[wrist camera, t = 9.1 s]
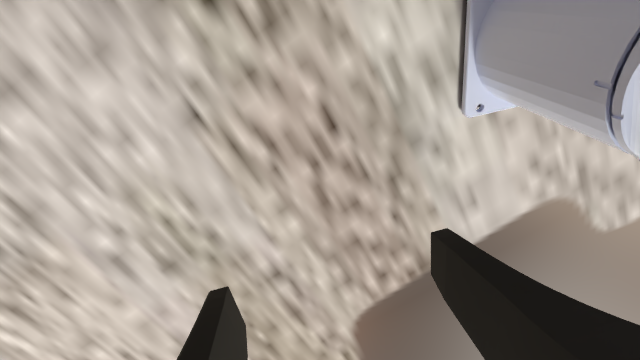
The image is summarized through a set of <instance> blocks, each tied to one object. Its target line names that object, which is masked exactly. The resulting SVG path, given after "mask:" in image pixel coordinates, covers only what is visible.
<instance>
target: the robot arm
mask: <svg viewBox="0 0 640 360" xmlns="http://www.w3.org/2000/svg"><path fill="white" fill-rule="evenodd" d="M479 104H480V108H479V109H478V110H476V107H477V106H478V105H479ZM518 106H519V107H521V108H524V109H526V110H528V111H531V112H533V113H535V114H538V115H540V116H542V117H545V118H547V119H549V120H552V121H554V122H556V123H559V124H561V125H563V126H566V127H568V128H570V129H572V130H575V131H577V132H579V133H582V134H584V135H586V136H589V137H591V138H593V139H596V140H598V141H600V142H603V143H605V144H607V145H610V146H612V147H614V148H617V149H619V150H621V151H623V152H626V153H629V154H631V155H633V156H634V157H636V158H638V159H639V161H640V0H467V17H466V36H465V55H464V75H463V94H462V113H463V115H465V116H466V117H475V116H479V115H484V114H488V113H492V112H497V111H501V110H505V109H510V108H514V107H518ZM431 275H432V277H433V279H434V281H435V282H436V285H437V287H438V288H439V290H440V292H441V294H442V296H443V298H444V300H445V301H446V303H447V304H448V306H449V307H450V309H451V310H452V312H453V313H454V315H455V316H456V318H457V319H458V321H459V322H460V324H461V325H462V327H463V328H464V329H465V331H466V332H467V334H468V335H469V337H470V338H471V340H472V341H473V343H474V344H475V346H476V347H477V348H478V350H479V351H480V353H481V354H482V356H483V357H484V359H485V360H640V325H637V324H635V323H632V322H629V321H626V320H624V319H621V318H619V317H616V316H613V315H611V314H608V313H606V312H603V311H601V310H598V309H596V308H593V307H591V306H588V305H586V304H584V303H581V302H579V301H577V300H575V299H573V298H570V297H568V296H566V295H564V294H562V293H560V292H557V291H555V290H553V289H551V288H549V287H547V286H545V285H543V284H541V283H539V282H537V281H535V280H533V279H531V278H529V277H528V276H526V275H524V274H522V273H520V272H518V271H517V270H515V269H513V268H511V267H509V266H508V265H506V264H504V263H503V262H501V261H499V260H498V259H496V258H494V257H492V256H491V255H489V254H487V253H486V252H484V251H483V250H481V249H479V248H478V247H476V246H475V245H473V244H472V243H470V242H468V241H467V240H465V239H464V238H462V237H461V236H459V235H457V234H456V233H454V232H453V231H451V230H449V229H448V228H446V229H443V230H439V231H435V232H431ZM247 358H248V354H247V338H246V325H245V323H244V320H243V318H242V316H241V314H240V311H239V309H238V307H237V305H236V303H235V300H234V298H233V296H232V294H231V291H230V289H229V287H224V288H220V289H217V290H213V291H210V292H209V294H208V296H207V298H206V300H205V302H204V304H203V307H202V309H201V311H200V313H199V315H198V318H197V320H196V322H195V324H194V326H193V328H192V330H191V332H190V334H189V336H188V338H187V340H186V342H185V344H184V346H183V348H182V350H181V352H180V354H179V356H178V358H177V360H247Z"/></svg>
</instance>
